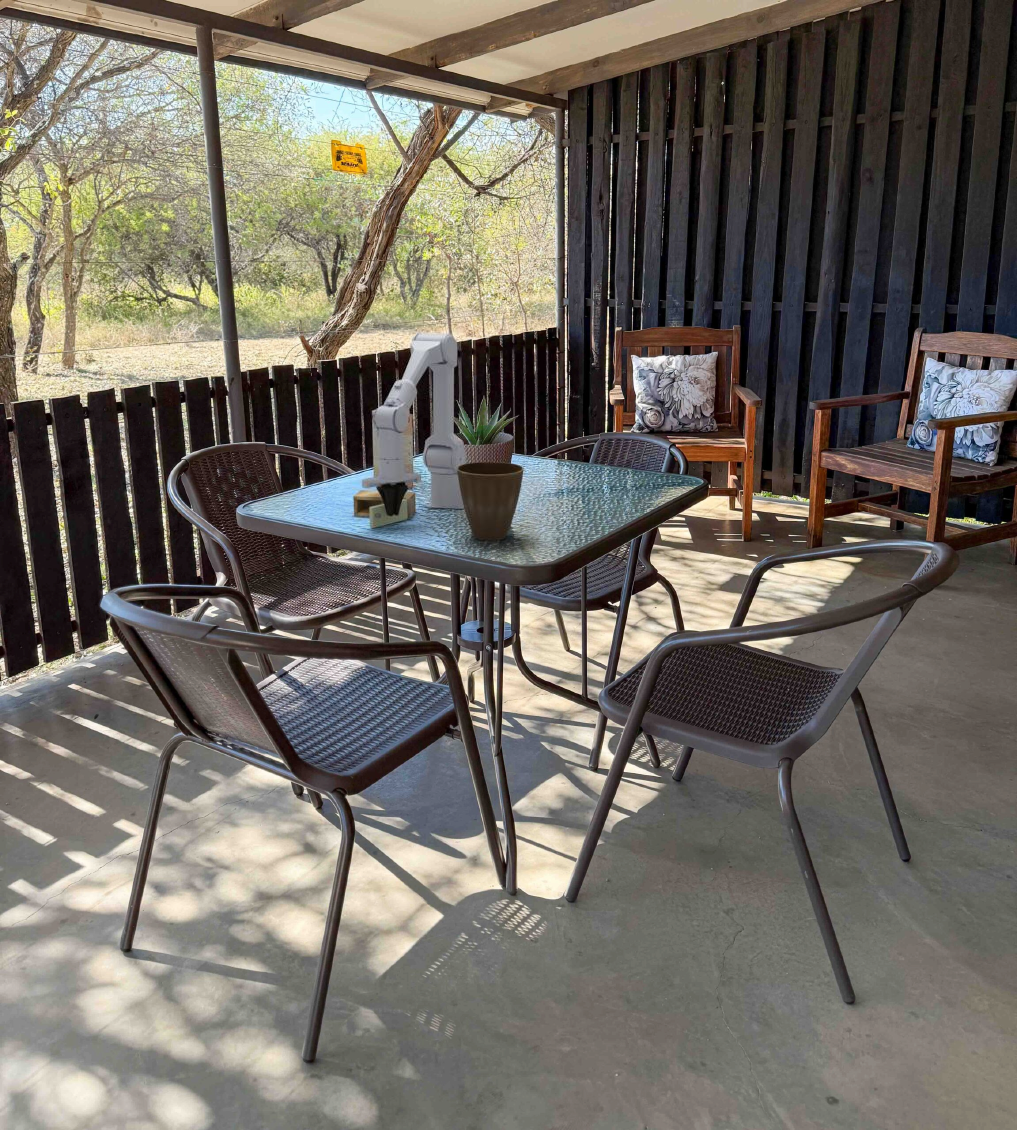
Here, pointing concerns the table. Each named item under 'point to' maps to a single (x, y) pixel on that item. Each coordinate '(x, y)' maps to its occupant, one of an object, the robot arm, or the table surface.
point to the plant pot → (490, 497)
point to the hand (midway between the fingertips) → (392, 515)
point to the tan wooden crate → (375, 502)
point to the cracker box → (407, 449)
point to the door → (381, 518)
